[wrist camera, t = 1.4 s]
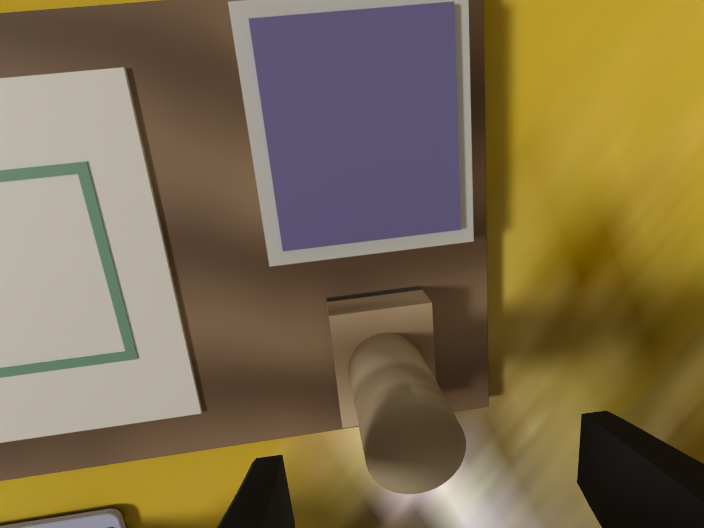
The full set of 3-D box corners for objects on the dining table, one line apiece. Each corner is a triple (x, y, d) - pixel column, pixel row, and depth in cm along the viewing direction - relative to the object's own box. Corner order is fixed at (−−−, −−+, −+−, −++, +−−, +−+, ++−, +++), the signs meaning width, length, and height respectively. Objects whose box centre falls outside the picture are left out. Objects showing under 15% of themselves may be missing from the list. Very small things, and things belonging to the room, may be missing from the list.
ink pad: (463, 234, 19) (476, 243, 18) (271, 258, 18) (269, 269, 17) (456, -7, 16) (471, -21, 15) (233, 10, 16) (226, -2, 14)
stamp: (425, 388, 21) (483, 508, 14) (338, 400, 21) (356, 530, 14) (419, 285, 19) (481, 366, 13) (326, 297, 19) (339, 386, 12)
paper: (202, 410, 20) (200, 414, 20) (-88, 452, 19) (-93, 457, 19) (125, 68, 16) (122, 67, 16) (-246, 101, 15) (-255, 100, 15)
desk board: (480, 395, 22) (488, 406, 21) (-100, 481, 20) (-120, 498, 19) (472, -17, 17) (483, -25, 16) (-304, 46, 15) (-345, 40, 14)
